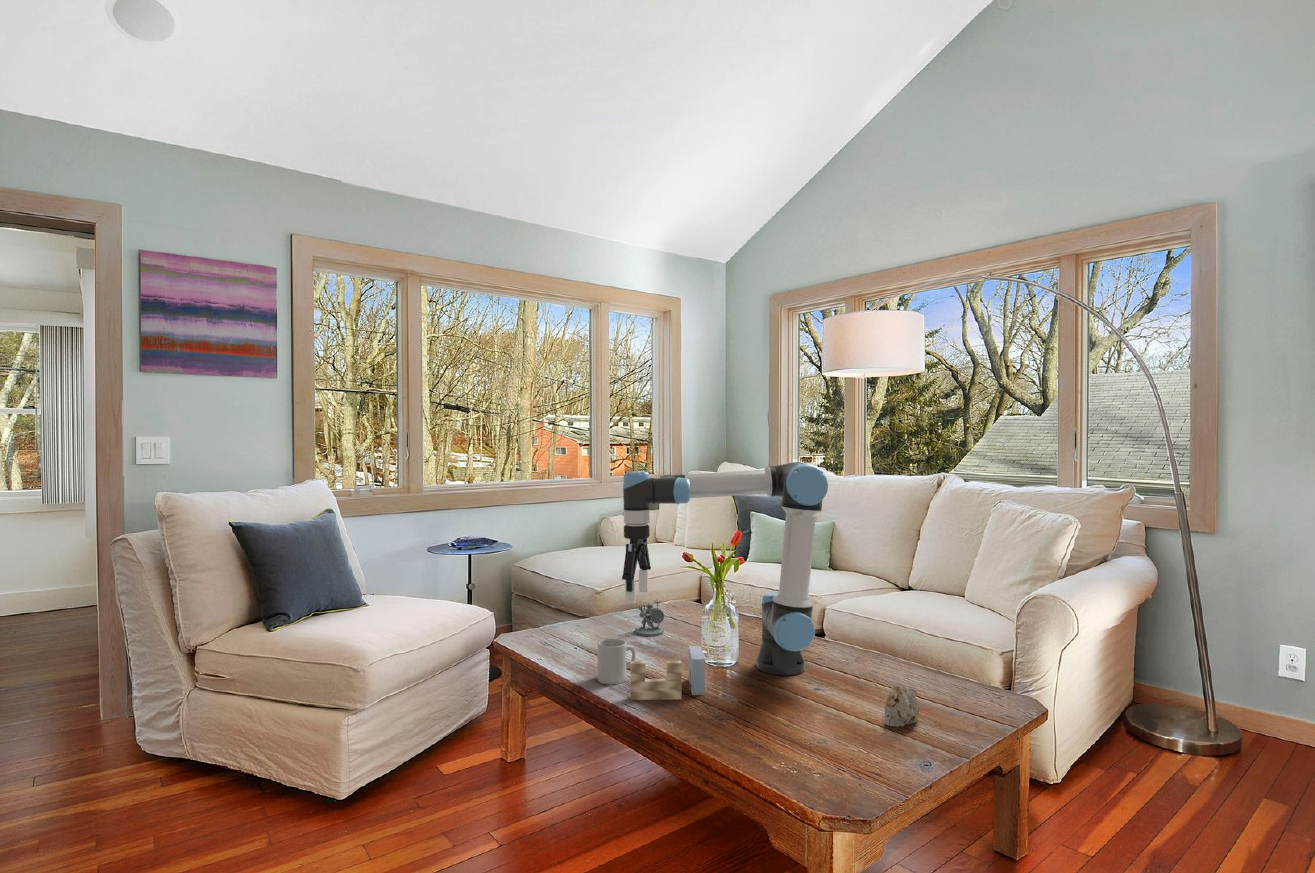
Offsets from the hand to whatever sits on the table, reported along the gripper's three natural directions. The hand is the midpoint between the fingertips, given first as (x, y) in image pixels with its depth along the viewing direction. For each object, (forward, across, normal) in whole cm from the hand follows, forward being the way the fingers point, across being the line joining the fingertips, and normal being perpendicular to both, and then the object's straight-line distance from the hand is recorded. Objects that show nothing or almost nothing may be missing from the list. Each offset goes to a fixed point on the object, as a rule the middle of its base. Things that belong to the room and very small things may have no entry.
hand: (637, 597), depth 201 cm
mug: (+26, -3, -7) cm, 27 cm away
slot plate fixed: (+26, +9, +8) cm, 28 cm away
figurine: (+26, -52, -11) cm, 59 cm away
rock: (+26, +7, +73) cm, 78 cm away
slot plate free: (+26, -2, +17) cm, 31 cm away
